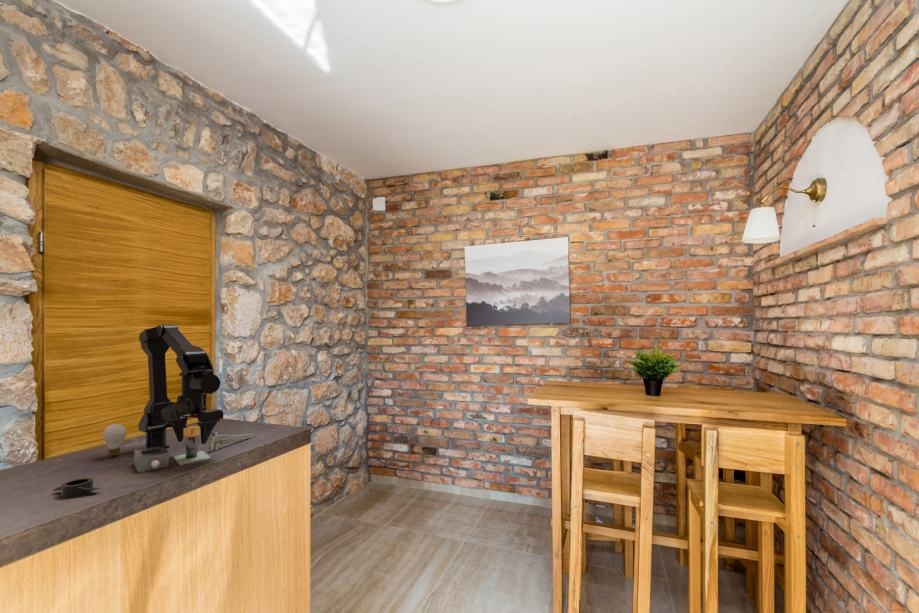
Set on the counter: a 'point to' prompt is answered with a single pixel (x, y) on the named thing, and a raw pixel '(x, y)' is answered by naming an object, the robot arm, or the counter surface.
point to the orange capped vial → (191, 441)
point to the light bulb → (114, 438)
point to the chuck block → (151, 458)
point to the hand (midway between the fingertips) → (191, 442)
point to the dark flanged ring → (76, 487)
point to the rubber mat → (182, 458)
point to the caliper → (224, 439)
